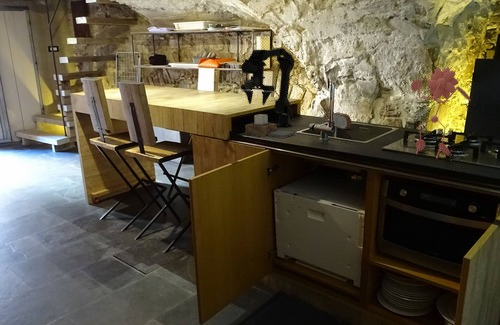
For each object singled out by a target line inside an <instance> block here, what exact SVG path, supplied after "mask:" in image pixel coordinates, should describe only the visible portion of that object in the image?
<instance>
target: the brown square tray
mask: <svg viewBox="0 0 500 325" xmlns="http://www.w3.org/2000/svg"><path fill="white" fill-rule="evenodd" d="M277 125H278V123H273V122H268V125H265V126H257V125H255V122H252V123H248V124H245V125H244V126H245V134H246V133H247V134H253V135H252V136H254V135H258V136H257V137H260V136H264V137H267V136H266V135H268V133H271V132H275V131H278V126H277ZM247 134H246V135H247Z"/></svg>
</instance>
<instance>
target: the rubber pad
mask: <svg viewBox="0 0 500 325" xmlns="http://www.w3.org/2000/svg"><path fill="white" fill-rule="evenodd" d="M294 134H295V135H296V132H295V131H289V130H278V129H277V131H275V132H271V133H268V137H271V136H274V137H273V138H278V137H281V138H280V139H286V138H285V137H287V138H289V137H288V136H290V137H292V136H291V135H293V136H295V135H294Z"/></svg>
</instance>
